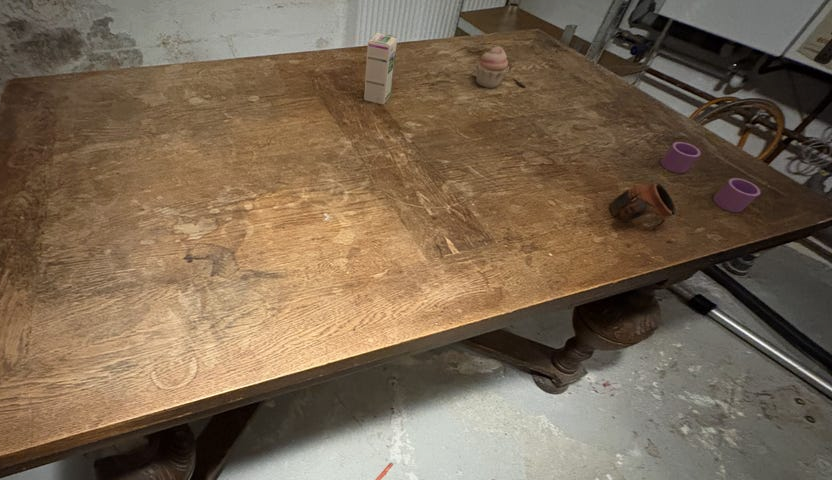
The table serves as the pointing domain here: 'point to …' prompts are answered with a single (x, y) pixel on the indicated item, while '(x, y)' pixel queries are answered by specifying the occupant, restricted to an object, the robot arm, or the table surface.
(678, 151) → the ramekin
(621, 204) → the pottery mug
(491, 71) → the cupcake
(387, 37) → the syrup box
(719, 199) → the ramekin
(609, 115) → the table surface
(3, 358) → the table surface
